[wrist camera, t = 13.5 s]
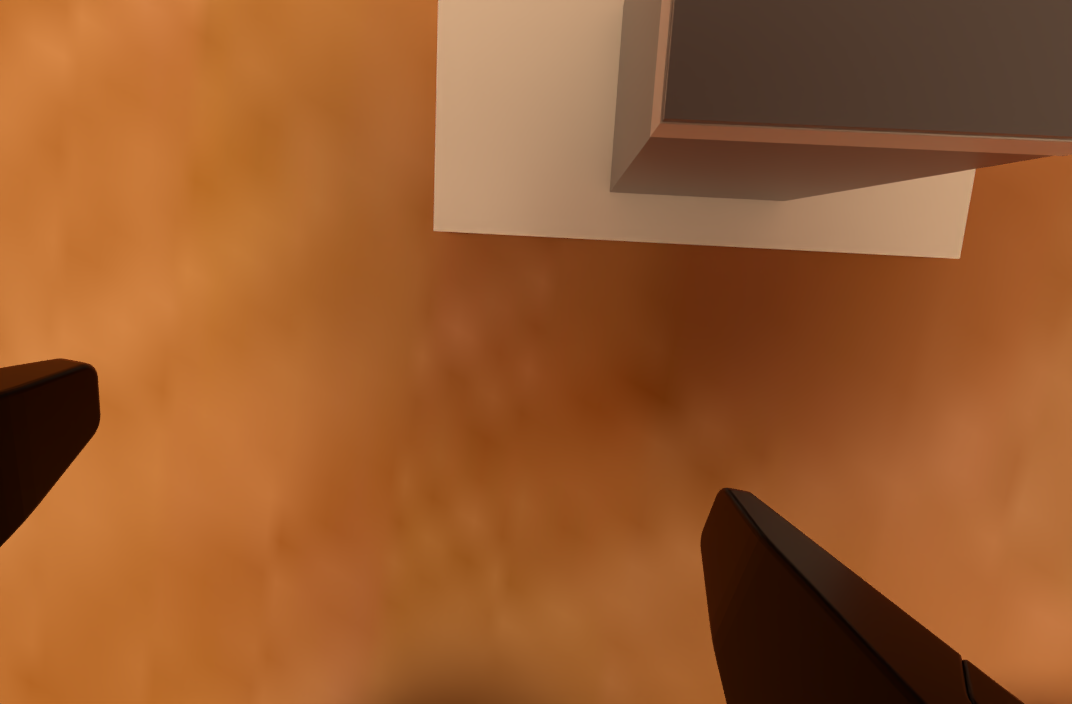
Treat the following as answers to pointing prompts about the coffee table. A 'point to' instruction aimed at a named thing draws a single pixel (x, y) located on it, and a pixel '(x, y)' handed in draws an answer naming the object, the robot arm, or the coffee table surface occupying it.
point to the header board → (587, 145)
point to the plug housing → (834, 93)
